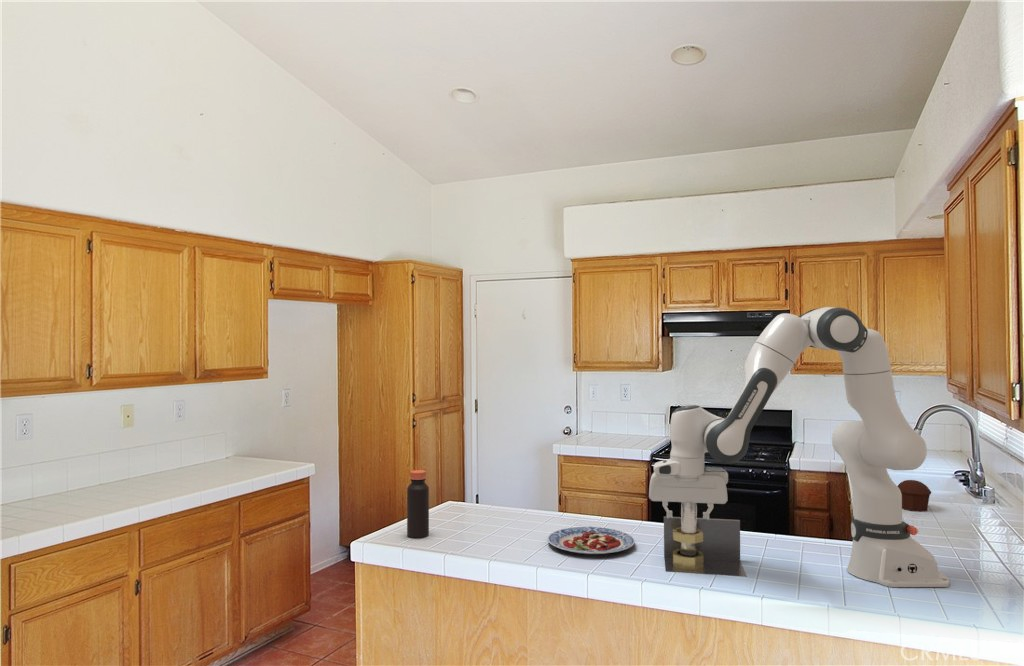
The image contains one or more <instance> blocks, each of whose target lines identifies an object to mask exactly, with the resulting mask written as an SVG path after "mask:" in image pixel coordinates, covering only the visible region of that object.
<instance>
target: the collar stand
mask: <svg viewBox="0 0 1024 666" xmlns="http://www.w3.org/2000/svg"><path fill="white" fill-rule="evenodd" d="M681 542H682V543H696V552H697V556H695V557H687V556H682V555H680V550H681ZM663 560H664V568H665V569H664V570H665V572H667V573H680V574H695V575H697V574H698V575H699V574H700V575H713V576H731V577H746V578H747V577H748V576H747V574H746V571H745V569H744V566H743V564H742V562H741V520H740V519H728V518H726V519H724V518H709V520H703V517H697V534H693V535H692V534H682V533H681V517H680V516H672V518H667V515H665V516H663Z"/></svg>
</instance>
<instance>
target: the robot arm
mask: <svg viewBox="0 0 1024 666" xmlns="http://www.w3.org/2000/svg"><path fill="white" fill-rule="evenodd" d="M809 347H810V348H814V349H820V350H825V351H831V350H834V351H836V352H837V353H838V354H839V357H840V358H841V361H842V363H841V364H842V373H843V380H844V386H845V387H844V388H845V395H846V400H847V403H848V404H849V406H850V407H851V408H852V409H854V410H855V412H857V414H858V416H859V417H860V419H861V420H853V421H846V422H842V423H838V425H837V426H835V428H834V430H833V432H832V433H831V434H832V435H831V445H832V448H833V450H834V451H835V453H836V454H837V455H839V457H840V458H841V460H842V462H843V463H844V466H845V468H846V470H847V473H848V476H849V479H850V484H851V488H852V502H853V504H852V505H853V506H852V507H853V515H852V516H851V523H850V530H851V531H850V533H851V537H852V544H851V545H852V546H851V553H850V559H849V562H848V565H847V568H846V570H847V572H848V573H850V574H851V575H853V576H854V577H857V578H859V579H862V580H865V581H870V582H872V583H873V582H874V583H877V584H880V585H882V586H885V587H890V588H948V587H949V586H950V580H949V578H948V577H947V576H946V575H945V574H944V573H943V572H942V571H939V567H938V563H937V560H936V558H935V556H934V555H933V554H932V552H930V551H929V550H928V549H927V548H926V547H924V546H923V545H921V544H920V543H919V542H917V540H915V539H914V538H913V537H911V536H916V535H917V534H919V533H918V532H919V528H918V529H917V527H916V526H914V525H910V524H909V523H907V522H905V521H903V509H902V494H901V491H900V489H899V488H898V485H897V484H896V483H895V482H894V481H893V480H892V478H891V477H890V474H889V472H888V470H892V471H914V470H917V469H919V468H920V467H921V466H922V465H923V463H924V461H925V460H926V457H927V453H928V452H927V451H928V449H927V444H926V441H925V440H924V437H922V435H920V434H919V433H918V432H917V431H915V429H914V428H913V427H912V426H911V425H910V424H909V422H908V421H907V419H906V417H905V416H904V413H903V412H902V409H901V408H900V406H899V405H900V404H899V403H898V401H897V396H896V392H895V386H894V380H893V372H892V366H891V365H892V364H891V359H890V355H889V352H888V347H887V344H886V342H885V339H884V336H883V335H882V334H881V332H879V331H878V330H876V329H875V330H874V328H873V329H872V328H866V326H865V325H864V324H863V322H862V320H861V319H860V317H859V316H858V315H857V314H856V313H855V312H854V311H852V310H850V309H848V308H845V307H837V306H835V307H834V306H823V307H821V308H820V307H819V308H813V309H810V310H808V311H806V312H804V313H803V314H800V315H796V314H794V313H786V312H785V313H780V314H778V315H776V316H775V317H774V318H773V319H772V320H771V321H770V322H769V323H768V324H767V326H766V327H765V328H764V329H763V331H762V332H761V333H760V335H759V336H758V337H757V339H756V340H755V342H754V344H753V345H752V347H751V349H750V350H749V352H748V355H747V357H746V359H745V363H744V374H745V383H744V386H743V389H742V392H741V394H740V395H739V396H738V399H736V402H735V404H734V405H733V407H732V409H731V410H730V412H729V413H728V416H726V417H725V418H723V417H721V416H717V415H716V414H713V413H711V412H709V411H708V410H706V409H704V408H703V407H701V406H700V405H696V404H695V405H694V404H693V405H684V406H680V407H677V408H675V410H673V412H672V414H671V418H670V425H669V426H670V427H669V440H670V442H671V449H670V453H669V457H670V458H668V459H667V458H666V459H664V460H659V461H657V462H655V463H654V464H653V472H652V474H651V476H650V481H649V486H648V487H649V488H648V498H649V500H650V501H652V502H662V507H663V508H664V511H665V512H666V517H667V518H672V517H673V510H670V509H669V508H668V506H669V503H681V502H695V503H697V504H706V505H707V507H708V508H707V510H706V511H703V512H702V518H703V520H709V519H710V514H711V512H712V511H713V509H714V504H715V505H716V504H718V505H725V504H726V503H727V502H728V501H729V500H728V490H727V484H728V483H729V473H728V472H727V470H725V469H723V468H722V467H710V466H709V467H708V466H707V467H706V466H705V454H706V453H708V454H709V455H710V456H711V458H712V459H714V460H715V461H717V462H718V463H721V464H734V463H737V462H739V461H740V460H741V459H743V458H744V457H745V455H746V454H747V453H748V451H749V450H748V449H749V446H750V438H751V432H752V429H753V428H754V425H755V424H756V422H757V421H758V418H760V415H761V413H762V412H763V410H764V408H765V407H766V405H767V403H768V401H769V399H770V398H771V396H772V395H773V393H774V392H775V391H776V390H777V389H778V387H779V385H780V384H781V383H782V382H783V381H784V379H785V378H786V377H787V375H788V374H789V372H790V371H791V369H792V368H793V367H794V365H795V363H796V362H797V360H798V358H799V357H800V355H801V354H802V353H803V352H804V351H805V350H806V349H807V348H809Z"/></svg>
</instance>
